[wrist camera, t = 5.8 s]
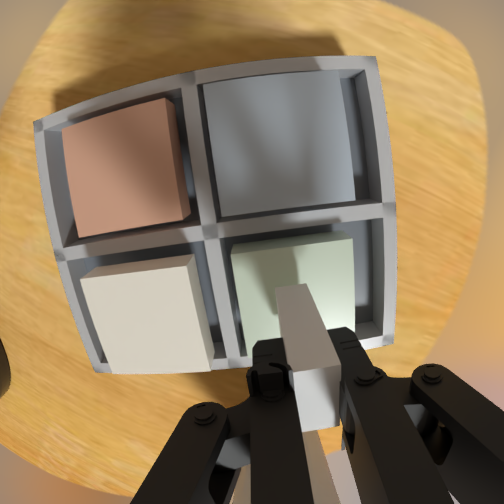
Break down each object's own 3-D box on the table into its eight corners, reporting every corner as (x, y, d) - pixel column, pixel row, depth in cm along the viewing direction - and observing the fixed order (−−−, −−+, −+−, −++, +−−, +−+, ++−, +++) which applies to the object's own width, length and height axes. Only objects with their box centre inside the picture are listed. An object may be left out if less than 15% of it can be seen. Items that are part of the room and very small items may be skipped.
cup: (215, 424, 25) (199, 540, 14) (283, 378, 24) (297, 509, 12) (276, 461, 27) (281, 563, 15) (341, 422, 25) (371, 531, 14)
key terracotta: (95, 229, 17) (79, 237, 15) (79, 131, 16) (61, 128, 14) (190, 213, 17) (182, 219, 15) (174, 104, 15) (164, 97, 13)
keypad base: (114, 344, 23) (95, 372, 19) (66, 125, 19) (33, 121, 15) (373, 316, 22) (393, 343, 18) (354, 73, 18) (375, 56, 14)
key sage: (248, 339, 19) (248, 358, 17) (233, 244, 17) (230, 254, 15) (346, 326, 19) (354, 342, 17) (342, 230, 17) (352, 238, 15)
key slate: (225, 210, 16) (222, 217, 14) (209, 93, 14) (202, 84, 12) (343, 195, 16) (355, 200, 14) (328, 81, 14) (338, 70, 12)
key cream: (123, 356, 18) (112, 373, 17) (95, 267, 17) (79, 279, 15) (214, 351, 18) (210, 371, 16) (194, 253, 17) (186, 265, 15)
